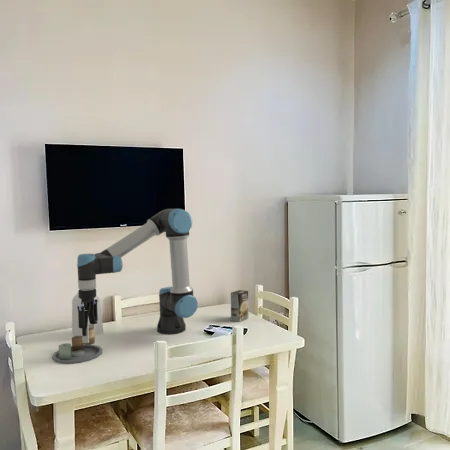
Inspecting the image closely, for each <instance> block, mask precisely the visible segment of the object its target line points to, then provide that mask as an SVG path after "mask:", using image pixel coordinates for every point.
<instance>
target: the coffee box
mask: <svg viewBox="0 0 450 450" xmlns="http://www.w3.org/2000/svg"><path fill="white" fill-rule="evenodd" d="M249 314H250V313H249V290H243V289H237V290H235V291H231V292H230V321H232V322H238V323H241V322H243V321H246V320H248V319H249Z"/></svg>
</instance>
